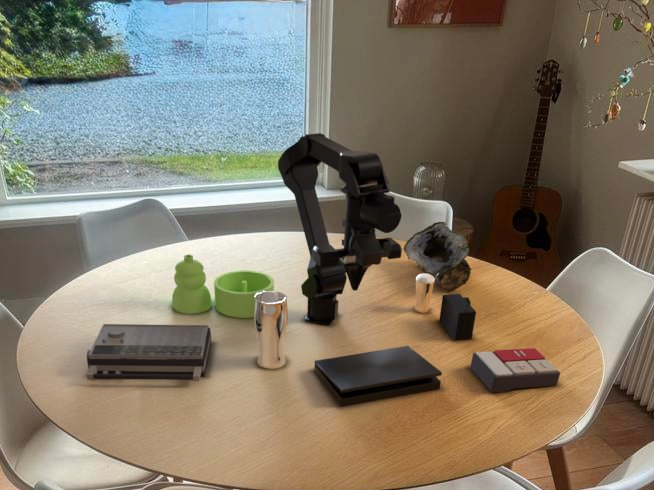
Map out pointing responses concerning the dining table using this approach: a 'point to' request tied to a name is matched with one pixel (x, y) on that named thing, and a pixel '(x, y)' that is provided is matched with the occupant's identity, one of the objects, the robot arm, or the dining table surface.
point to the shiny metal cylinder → (423, 292)
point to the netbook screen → (376, 368)
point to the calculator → (514, 369)
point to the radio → (150, 352)
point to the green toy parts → (217, 290)
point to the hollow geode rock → (440, 255)
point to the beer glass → (270, 327)
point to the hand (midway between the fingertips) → (354, 289)
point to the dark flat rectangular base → (378, 390)
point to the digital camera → (457, 316)
